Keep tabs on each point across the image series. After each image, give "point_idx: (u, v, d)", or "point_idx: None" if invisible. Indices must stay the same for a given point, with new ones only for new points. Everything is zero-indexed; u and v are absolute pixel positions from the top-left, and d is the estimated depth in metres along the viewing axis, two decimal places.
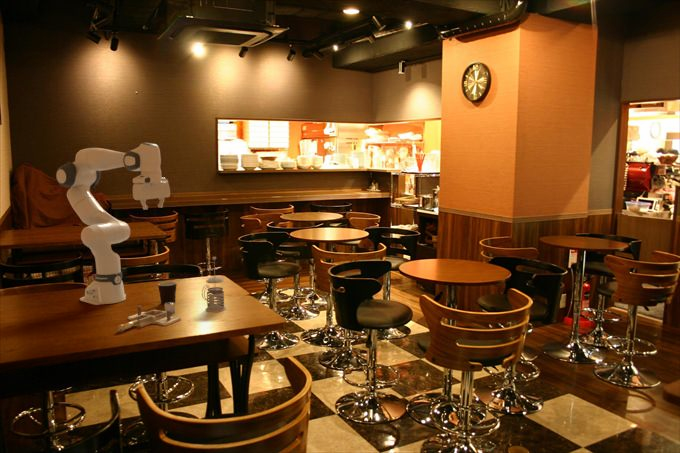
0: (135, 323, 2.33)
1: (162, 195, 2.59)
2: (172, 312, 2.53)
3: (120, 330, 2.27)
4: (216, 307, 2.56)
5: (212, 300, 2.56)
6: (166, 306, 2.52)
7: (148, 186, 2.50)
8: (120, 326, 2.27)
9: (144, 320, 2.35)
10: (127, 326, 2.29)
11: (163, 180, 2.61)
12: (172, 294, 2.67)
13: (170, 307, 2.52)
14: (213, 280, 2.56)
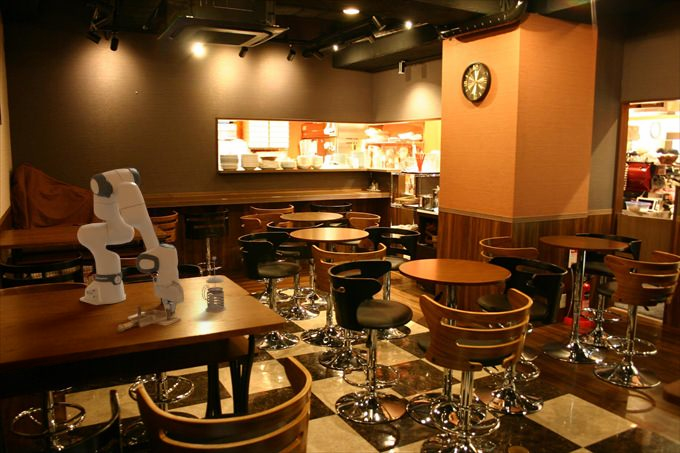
0: (135, 323, 2.33)
1: (170, 299, 2.49)
2: (172, 312, 2.53)
3: (120, 330, 2.27)
4: (216, 307, 2.56)
5: (212, 300, 2.56)
6: (166, 306, 2.52)
7: (159, 286, 2.54)
8: (120, 326, 2.27)
9: (144, 320, 2.35)
10: (127, 326, 2.29)
11: (176, 284, 2.47)
12: None
13: None
14: (213, 280, 2.56)
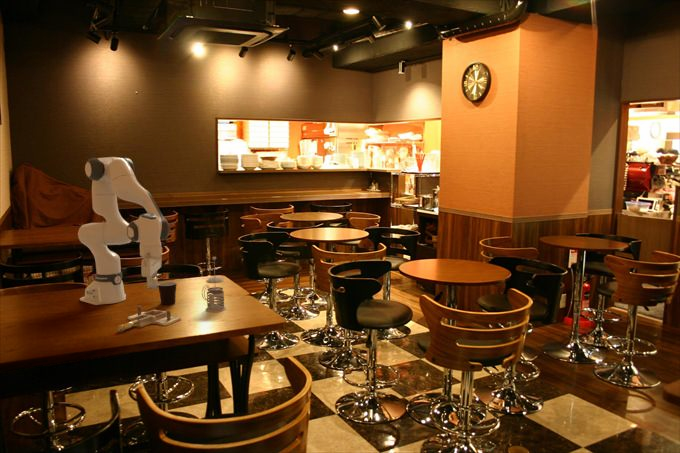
0: (135, 323, 2.33)
1: None
2: (151, 287, 2.40)
3: (120, 330, 2.27)
4: (216, 307, 2.56)
5: (212, 300, 2.56)
6: (147, 280, 2.41)
7: None
8: (120, 326, 2.27)
9: (144, 320, 2.35)
10: (127, 326, 2.29)
11: None
12: (172, 294, 2.67)
13: None
14: (213, 280, 2.56)
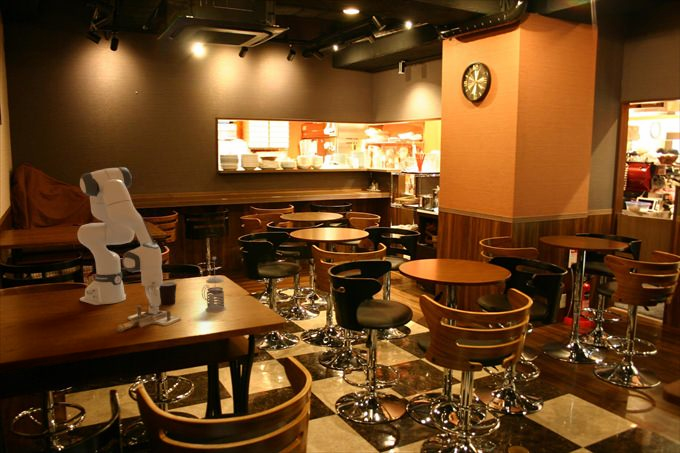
0: (135, 323, 2.33)
1: (150, 301, 2.38)
2: None
3: (120, 330, 2.27)
4: (216, 307, 2.56)
5: (212, 300, 2.56)
6: (148, 310, 2.42)
7: None
8: (120, 326, 2.27)
9: (144, 320, 2.35)
10: (127, 326, 2.29)
11: (153, 286, 2.35)
12: (172, 294, 2.67)
13: (152, 311, 2.42)
14: (213, 280, 2.56)
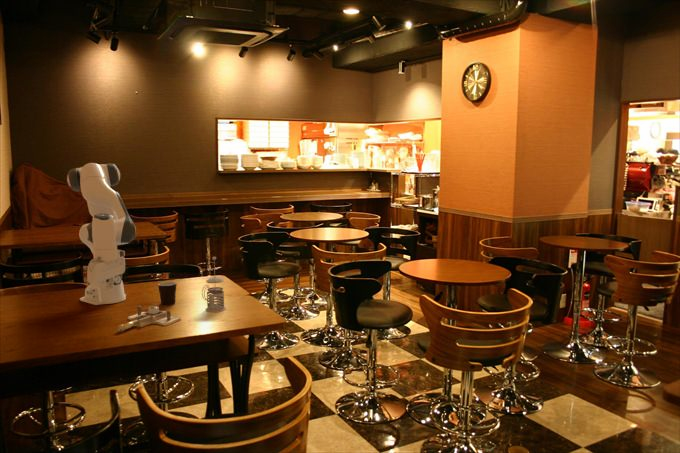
0: (135, 323, 2.33)
1: None
2: None
3: (120, 330, 2.27)
4: (216, 307, 2.56)
5: (212, 300, 2.56)
6: (148, 310, 2.42)
7: None
8: (120, 326, 2.27)
9: (144, 320, 2.35)
10: (127, 326, 2.29)
11: None
12: (172, 294, 2.67)
13: (152, 311, 2.42)
14: (213, 280, 2.56)
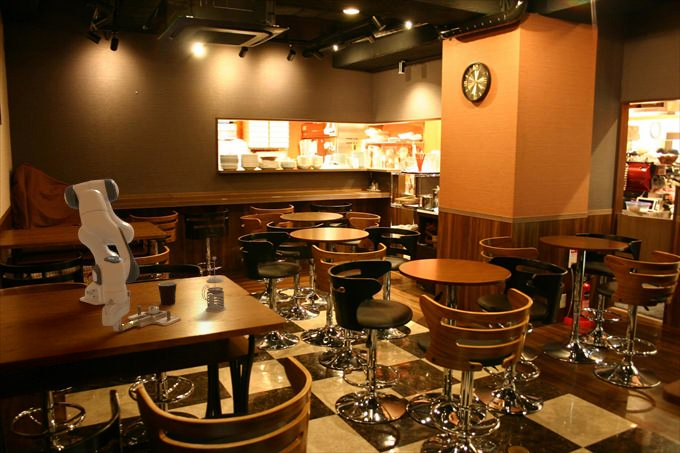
0: (136, 323, 2.33)
1: None
2: None
3: (121, 330, 2.27)
4: (216, 307, 2.56)
5: (212, 300, 2.56)
6: (148, 310, 2.42)
7: None
8: (121, 326, 2.27)
9: (144, 320, 2.35)
10: (128, 326, 2.29)
11: None
12: (172, 294, 2.67)
13: (152, 311, 2.42)
14: (213, 280, 2.56)
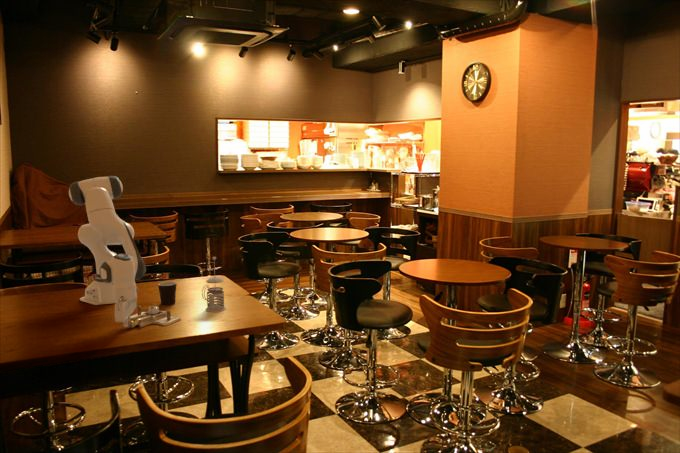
0: None
1: None
2: None
3: (130, 326, 2.32)
4: (216, 307, 2.56)
5: (212, 300, 2.56)
6: (148, 310, 2.42)
7: None
8: (130, 322, 2.32)
9: (144, 320, 2.35)
10: (137, 322, 2.34)
11: None
12: (172, 294, 2.67)
13: (152, 311, 2.42)
14: (213, 280, 2.56)
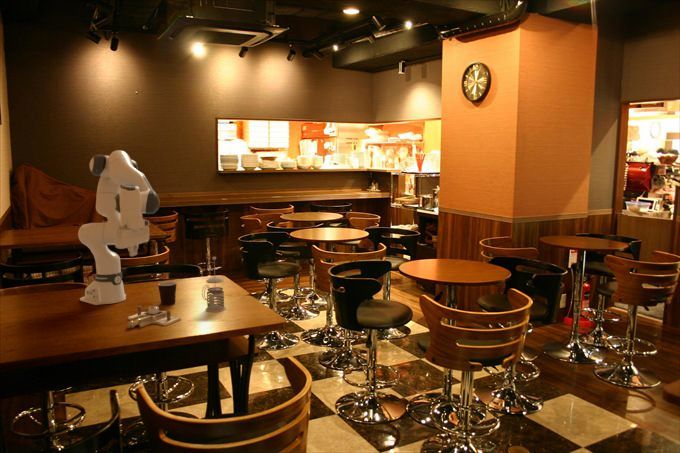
0: None
1: None
2: None
3: (130, 326, 2.32)
4: (216, 307, 2.56)
5: (212, 300, 2.56)
6: (148, 310, 2.42)
7: None
8: (130, 322, 2.32)
9: (144, 320, 2.35)
10: (137, 322, 2.34)
11: None
12: (172, 294, 2.67)
13: (152, 311, 2.42)
14: (213, 280, 2.56)
